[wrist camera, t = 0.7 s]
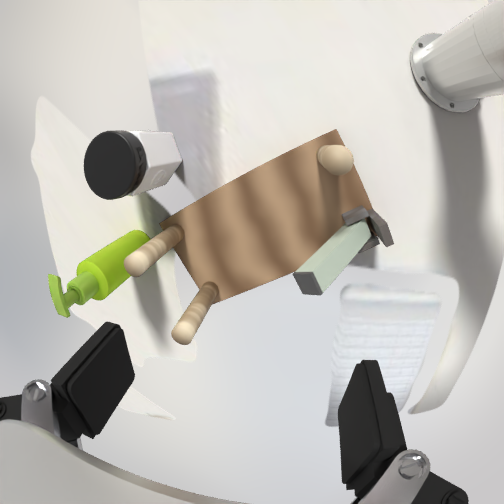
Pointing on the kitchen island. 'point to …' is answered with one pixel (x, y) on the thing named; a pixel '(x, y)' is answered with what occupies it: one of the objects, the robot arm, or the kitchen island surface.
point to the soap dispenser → (97, 273)
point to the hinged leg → (332, 258)
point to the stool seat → (262, 225)
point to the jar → (130, 162)
